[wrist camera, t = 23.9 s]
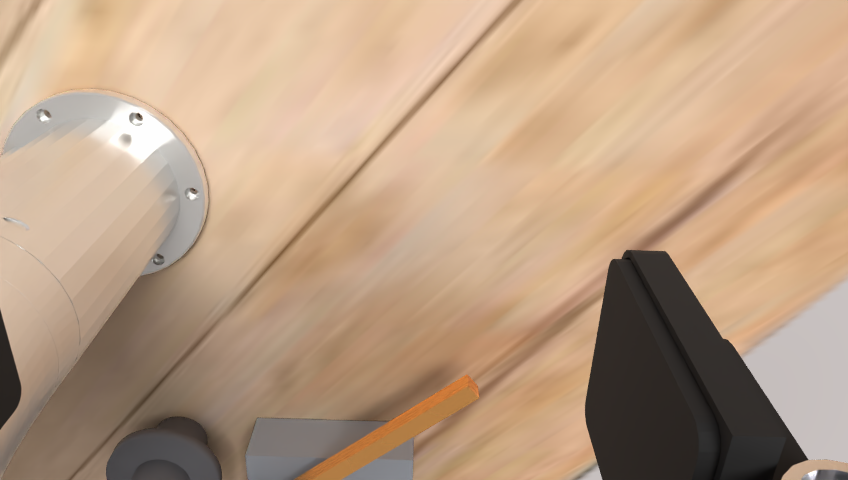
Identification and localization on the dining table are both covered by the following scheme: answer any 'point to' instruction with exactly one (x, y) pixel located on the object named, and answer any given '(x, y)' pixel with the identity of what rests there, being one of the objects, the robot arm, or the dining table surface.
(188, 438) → the plug
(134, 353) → the dining table surface
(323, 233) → the dining table surface
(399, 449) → the socket block
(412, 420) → the orange stick
